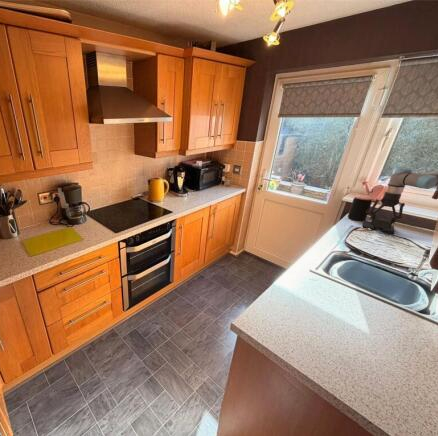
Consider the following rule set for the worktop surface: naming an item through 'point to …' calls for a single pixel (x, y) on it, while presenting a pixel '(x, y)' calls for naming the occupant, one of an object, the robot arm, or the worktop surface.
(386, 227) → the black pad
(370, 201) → the coffee jar
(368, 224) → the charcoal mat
